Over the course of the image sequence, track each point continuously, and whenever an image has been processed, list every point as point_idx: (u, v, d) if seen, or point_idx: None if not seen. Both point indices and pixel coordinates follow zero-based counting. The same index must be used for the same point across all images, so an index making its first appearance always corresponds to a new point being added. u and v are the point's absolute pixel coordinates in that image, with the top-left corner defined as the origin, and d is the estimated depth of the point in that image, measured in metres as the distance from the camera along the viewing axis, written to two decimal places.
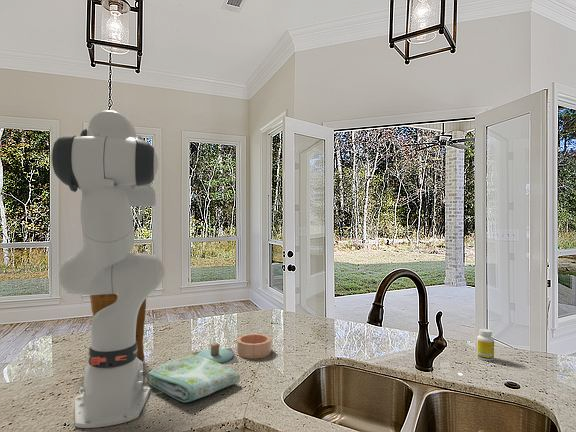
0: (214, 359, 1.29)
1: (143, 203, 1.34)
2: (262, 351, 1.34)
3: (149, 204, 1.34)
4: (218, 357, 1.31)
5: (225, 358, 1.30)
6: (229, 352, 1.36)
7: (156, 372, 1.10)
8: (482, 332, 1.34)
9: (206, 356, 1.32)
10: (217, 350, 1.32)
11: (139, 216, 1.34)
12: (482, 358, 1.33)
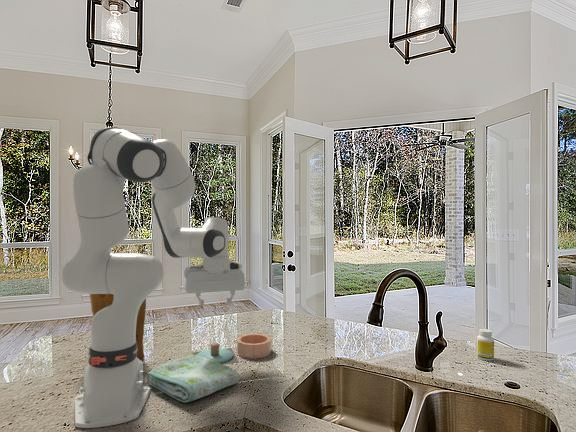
0: (214, 359, 1.29)
1: (233, 288, 1.33)
2: (262, 351, 1.34)
3: (239, 288, 1.34)
4: (218, 357, 1.31)
5: (225, 358, 1.30)
6: (229, 352, 1.36)
7: (156, 372, 1.10)
8: (482, 332, 1.34)
9: (206, 356, 1.32)
10: (217, 350, 1.32)
11: (229, 300, 1.34)
12: (482, 358, 1.33)
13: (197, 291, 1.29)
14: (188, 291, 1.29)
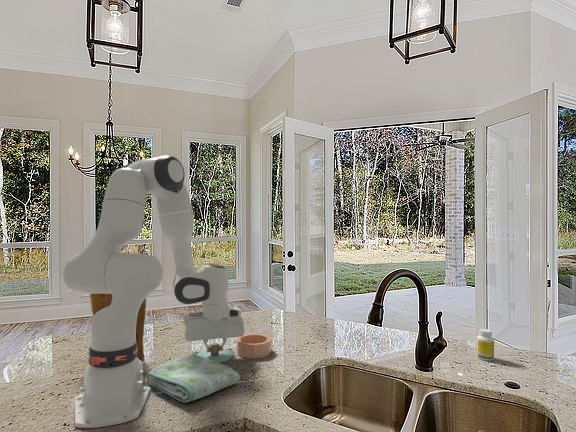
0: (214, 359, 1.29)
1: (233, 334, 1.33)
2: (262, 351, 1.34)
3: (238, 335, 1.34)
4: (218, 357, 1.31)
5: (225, 358, 1.30)
6: (229, 352, 1.36)
7: (156, 372, 1.10)
8: (482, 332, 1.34)
9: (206, 356, 1.32)
10: (217, 350, 1.32)
11: (221, 348, 1.33)
12: (482, 358, 1.33)
13: (196, 339, 1.29)
14: (187, 339, 1.29)
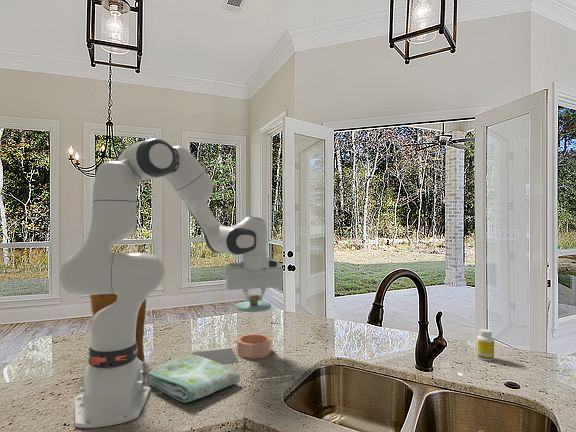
0: (254, 308, 1.35)
1: (271, 285, 1.39)
2: (262, 351, 1.34)
3: (276, 285, 1.39)
4: (258, 306, 1.36)
5: (265, 307, 1.36)
6: (267, 303, 1.41)
7: (156, 372, 1.10)
8: (482, 332, 1.34)
9: (246, 306, 1.37)
10: (256, 300, 1.38)
11: (260, 297, 1.38)
12: (482, 358, 1.33)
13: (237, 288, 1.35)
14: (229, 288, 1.34)
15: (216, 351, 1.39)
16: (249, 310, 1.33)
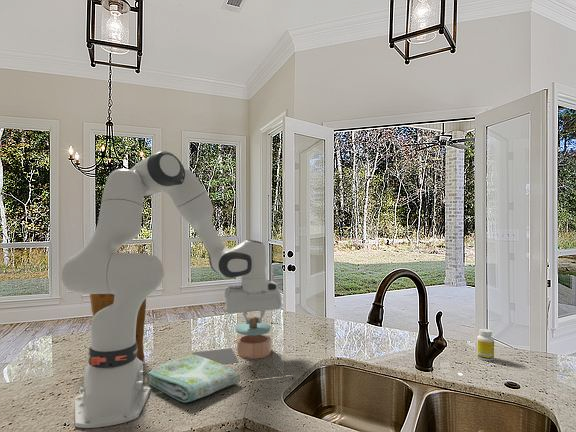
0: (254, 331, 1.35)
1: (270, 307, 1.39)
2: (262, 351, 1.34)
3: (276, 308, 1.40)
4: (257, 329, 1.37)
5: (264, 330, 1.36)
6: (266, 325, 1.42)
7: (156, 372, 1.10)
8: (482, 332, 1.34)
9: (245, 328, 1.38)
10: (255, 323, 1.38)
11: (259, 320, 1.39)
12: (482, 358, 1.33)
13: (237, 311, 1.35)
14: (229, 311, 1.34)
15: (216, 351, 1.39)
16: (248, 333, 1.33)
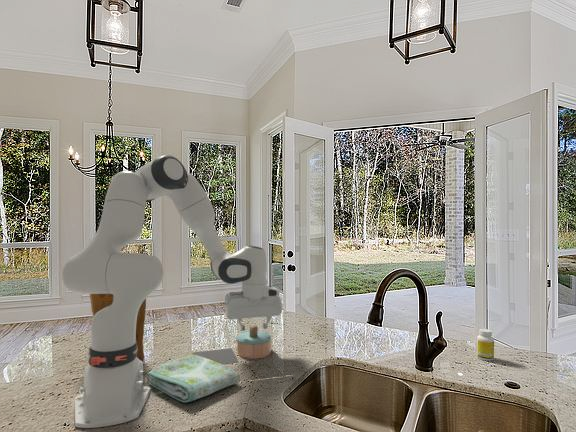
0: (254, 340, 1.35)
1: (271, 313, 1.39)
2: (262, 351, 1.34)
3: (276, 314, 1.39)
4: (257, 338, 1.36)
5: (264, 339, 1.36)
6: (266, 334, 1.41)
7: (156, 372, 1.10)
8: (482, 332, 1.34)
9: (246, 337, 1.37)
10: (256, 332, 1.38)
11: (265, 325, 1.39)
12: (482, 358, 1.33)
13: (237, 317, 1.35)
14: (229, 317, 1.34)
15: (216, 351, 1.39)
16: (249, 343, 1.33)
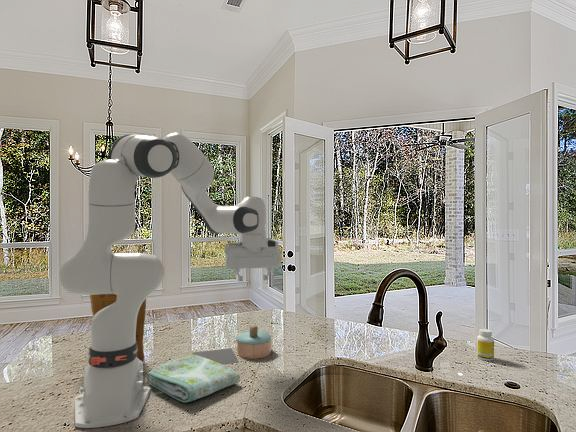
0: (254, 340, 1.35)
1: (270, 264, 1.39)
2: (262, 351, 1.34)
3: (275, 265, 1.40)
4: (257, 338, 1.36)
5: (264, 339, 1.36)
6: (266, 334, 1.41)
7: (156, 372, 1.10)
8: (482, 332, 1.34)
9: (246, 337, 1.37)
10: (256, 332, 1.38)
11: (266, 277, 1.40)
12: (482, 358, 1.33)
13: (237, 267, 1.36)
14: (228, 267, 1.35)
15: (216, 351, 1.39)
16: (249, 343, 1.33)
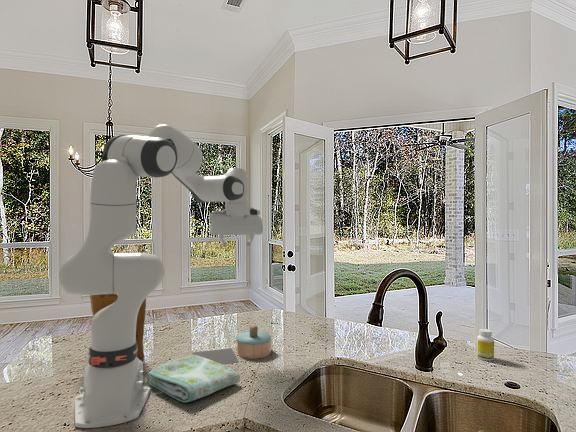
0: (254, 340, 1.35)
1: (252, 232, 1.50)
2: (262, 351, 1.34)
3: (257, 232, 1.50)
4: (257, 338, 1.36)
5: (264, 339, 1.36)
6: (266, 334, 1.41)
7: (156, 372, 1.10)
8: (482, 332, 1.34)
9: (246, 337, 1.37)
10: (256, 332, 1.38)
11: (249, 243, 1.50)
12: (482, 358, 1.33)
13: (221, 233, 1.46)
14: (213, 233, 1.45)
15: (216, 351, 1.39)
16: (249, 343, 1.33)
